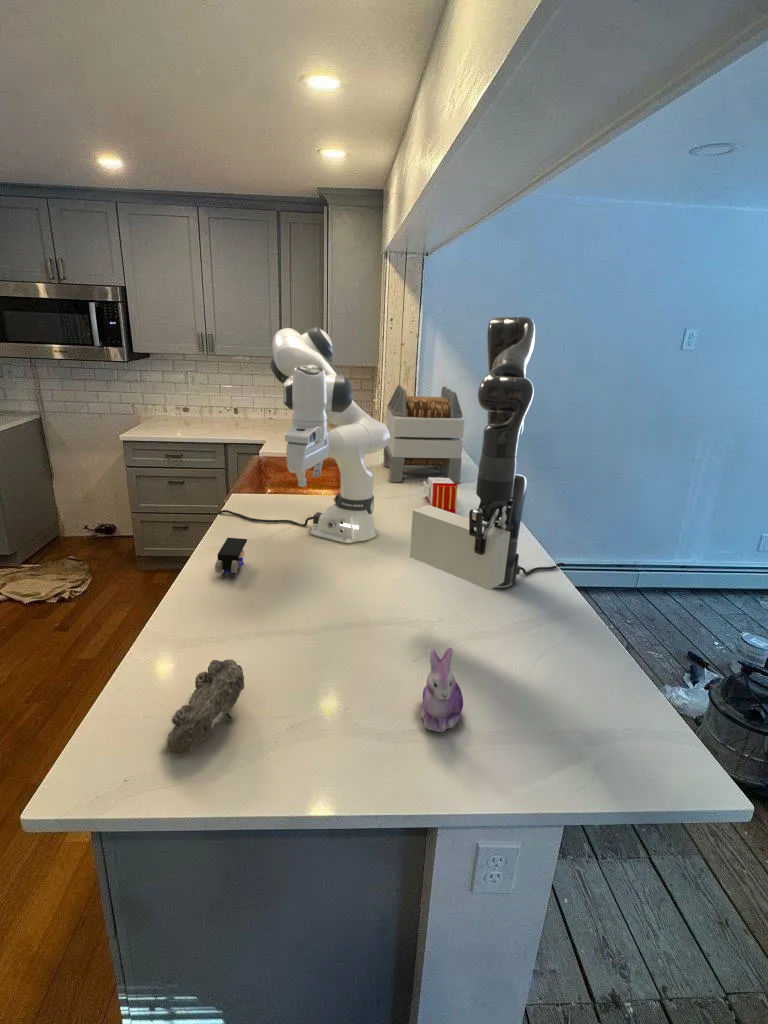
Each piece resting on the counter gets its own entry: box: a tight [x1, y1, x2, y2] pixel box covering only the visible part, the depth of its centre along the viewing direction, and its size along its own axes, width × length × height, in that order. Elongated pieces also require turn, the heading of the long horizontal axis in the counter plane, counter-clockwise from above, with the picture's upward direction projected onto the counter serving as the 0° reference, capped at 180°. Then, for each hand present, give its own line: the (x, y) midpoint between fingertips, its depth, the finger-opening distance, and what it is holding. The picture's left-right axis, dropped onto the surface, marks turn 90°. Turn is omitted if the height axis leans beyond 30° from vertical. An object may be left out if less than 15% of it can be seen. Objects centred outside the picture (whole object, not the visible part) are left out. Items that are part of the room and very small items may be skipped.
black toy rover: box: [214, 537, 248, 578], centre depth 166 cm, size 7×8×15 cm
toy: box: [422, 476, 458, 514], centre depth 227 cm, size 12×13×30 cm
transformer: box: [383, 384, 465, 484], centre depth 268 cm, size 34×33×41 cm
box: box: [409, 504, 510, 591], centre depth 128 cm, size 23×6×12 cm, turn 47°
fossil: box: [166, 658, 245, 754], centre depth 106 cm, size 22×10×15 cm
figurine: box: [420, 647, 464, 733], centre depth 108 cm, size 9×10×15 cm
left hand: (309, 481), depth 151 cm, fingers open, 8 cm apart
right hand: (487, 549), depth 123 cm, fingers closed on box, 6 cm apart
